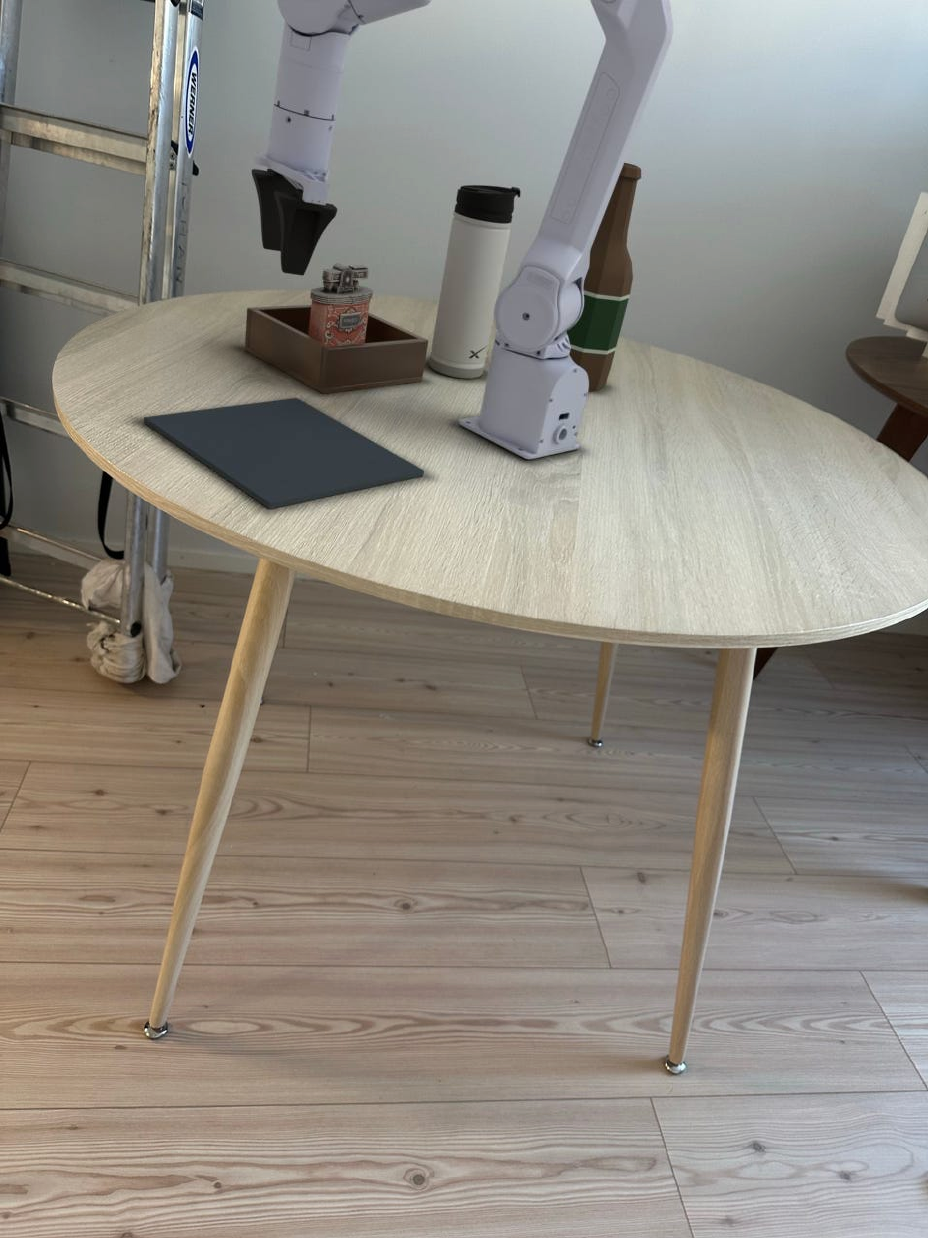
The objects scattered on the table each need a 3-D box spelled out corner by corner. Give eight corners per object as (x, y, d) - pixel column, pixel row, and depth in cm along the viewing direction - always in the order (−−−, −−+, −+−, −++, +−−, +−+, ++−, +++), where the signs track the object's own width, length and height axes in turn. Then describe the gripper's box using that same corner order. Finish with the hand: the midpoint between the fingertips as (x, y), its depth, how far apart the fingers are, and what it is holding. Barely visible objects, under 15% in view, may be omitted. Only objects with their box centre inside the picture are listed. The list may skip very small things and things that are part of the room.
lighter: (319, 370, 102) (330, 271, 97) (296, 360, 104) (305, 262, 99) (371, 361, 108) (383, 267, 103) (348, 351, 110) (359, 259, 104)
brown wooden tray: (422, 381, 107) (428, 340, 105) (323, 393, 98) (328, 349, 95) (343, 341, 114) (347, 302, 112) (244, 349, 105) (246, 307, 103)
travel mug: (485, 383, 110) (522, 193, 100) (427, 372, 110) (458, 180, 100) (485, 367, 116) (520, 185, 106) (430, 357, 115) (460, 173, 105)
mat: (423, 475, 85) (424, 470, 84) (269, 509, 74) (269, 503, 73) (296, 402, 94) (296, 397, 94) (143, 422, 83) (143, 416, 83)
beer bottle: (604, 378, 121) (659, 167, 109) (606, 396, 114) (664, 174, 102) (542, 365, 121) (590, 153, 109) (541, 383, 114) (591, 159, 102)
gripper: (244, 87, 94) (226, 233, 101) (282, 118, 84) (260, 278, 91) (314, 103, 97) (293, 243, 104) (360, 135, 87) (333, 288, 94)
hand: (282, 260), depth 98 cm, fingers open, 7 cm apart
